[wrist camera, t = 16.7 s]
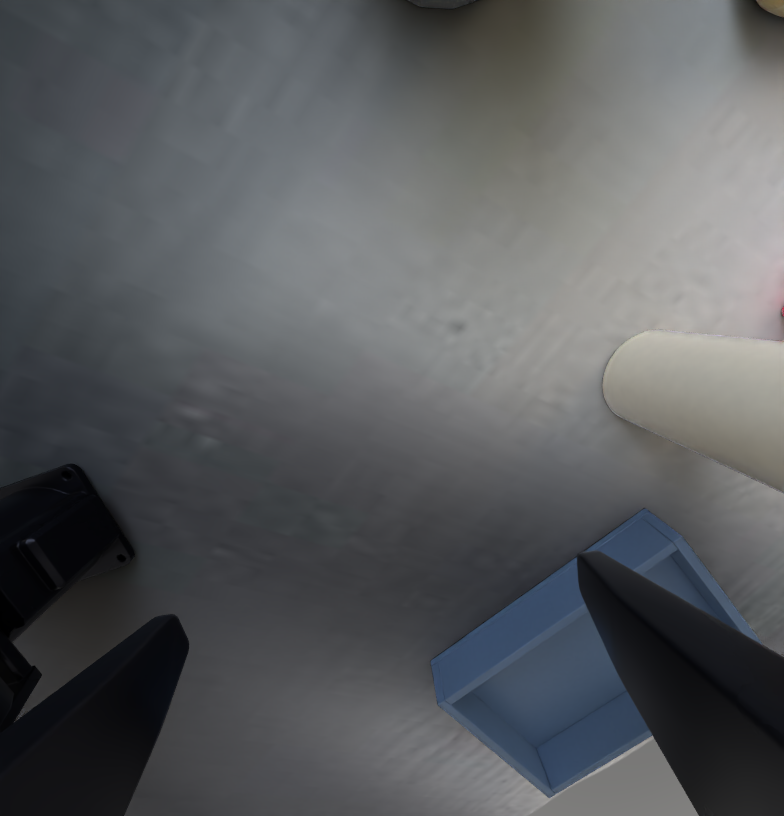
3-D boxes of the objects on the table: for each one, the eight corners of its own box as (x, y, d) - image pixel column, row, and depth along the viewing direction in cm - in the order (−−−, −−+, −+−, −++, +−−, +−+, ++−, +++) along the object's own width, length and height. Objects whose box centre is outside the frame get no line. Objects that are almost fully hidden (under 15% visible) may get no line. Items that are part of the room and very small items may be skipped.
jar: (641, 439, 21) (1016, 629, 9) (582, 383, 20) (917, 512, 8) (712, 371, 21) (1239, 476, 8) (655, 308, 19) (1164, 319, 7)
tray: (531, 749, 28) (549, 798, 25) (429, 660, 25) (437, 705, 22) (731, 622, 26) (775, 661, 23) (644, 507, 23) (682, 536, 20)
